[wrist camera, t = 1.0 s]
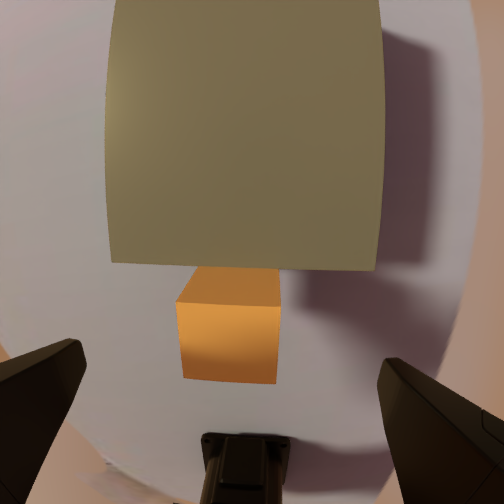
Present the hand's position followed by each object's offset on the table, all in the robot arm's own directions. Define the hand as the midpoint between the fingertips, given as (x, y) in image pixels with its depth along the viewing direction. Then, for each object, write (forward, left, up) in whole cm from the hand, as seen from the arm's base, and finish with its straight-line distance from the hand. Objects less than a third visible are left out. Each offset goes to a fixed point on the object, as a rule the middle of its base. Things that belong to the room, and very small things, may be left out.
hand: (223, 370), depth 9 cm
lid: (+6, 0, -6) cm, 9 cm away
